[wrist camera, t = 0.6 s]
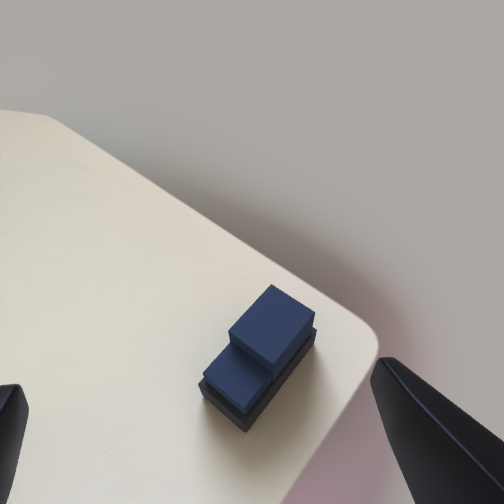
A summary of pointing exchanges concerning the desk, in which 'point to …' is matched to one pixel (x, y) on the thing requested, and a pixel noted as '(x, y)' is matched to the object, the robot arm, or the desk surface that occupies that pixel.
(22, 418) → the robot arm
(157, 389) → the desk surface
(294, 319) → the stepped navy block
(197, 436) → the desk surface
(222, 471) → the desk surface
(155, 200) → the desk surface
